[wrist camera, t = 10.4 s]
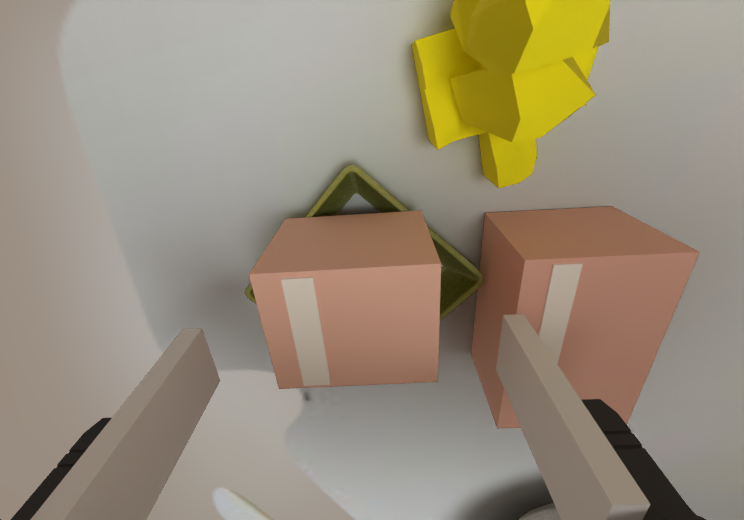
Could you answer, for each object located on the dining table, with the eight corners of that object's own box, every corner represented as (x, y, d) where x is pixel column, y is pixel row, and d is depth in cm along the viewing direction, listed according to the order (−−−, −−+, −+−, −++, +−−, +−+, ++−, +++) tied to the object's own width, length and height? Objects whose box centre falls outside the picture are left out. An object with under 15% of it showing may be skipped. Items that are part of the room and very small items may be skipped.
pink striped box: (570, 358, 21) (624, 434, 16) (470, 362, 21) (496, 438, 16) (611, 206, 16) (702, 253, 12) (484, 212, 17) (526, 261, 12)
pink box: (421, 305, 17) (438, 383, 13) (302, 311, 17) (278, 390, 13) (421, 210, 15) (441, 264, 10) (285, 218, 15) (247, 276, 11)
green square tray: (353, 151, 16) (351, 159, 14) (478, 260, 18) (490, 280, 17) (253, 274, 19) (240, 294, 17) (372, 353, 21) (372, 379, 20)
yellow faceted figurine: (437, 186, 16) (483, 262, 9) (399, -21, 13) (428, -146, 6) (565, 153, 15) (720, 209, 9) (564, -77, 12) (824, -297, 5)
